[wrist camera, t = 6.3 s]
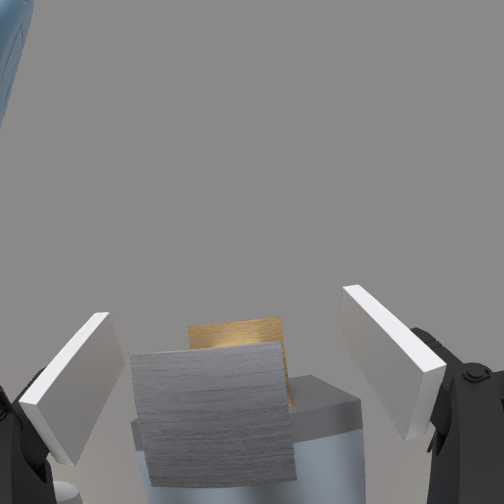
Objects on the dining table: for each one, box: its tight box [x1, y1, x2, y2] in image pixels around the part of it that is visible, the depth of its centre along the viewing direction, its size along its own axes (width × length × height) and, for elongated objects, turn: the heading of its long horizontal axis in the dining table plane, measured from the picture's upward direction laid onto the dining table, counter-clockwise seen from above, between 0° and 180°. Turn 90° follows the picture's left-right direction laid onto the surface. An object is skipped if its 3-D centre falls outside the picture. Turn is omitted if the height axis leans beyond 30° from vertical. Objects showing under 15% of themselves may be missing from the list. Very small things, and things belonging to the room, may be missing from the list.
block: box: [129, 317, 297, 489], centre depth 17 cm, size 24×6×6 cm, turn 0°
